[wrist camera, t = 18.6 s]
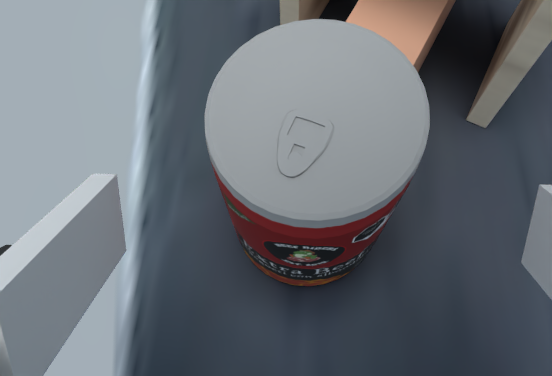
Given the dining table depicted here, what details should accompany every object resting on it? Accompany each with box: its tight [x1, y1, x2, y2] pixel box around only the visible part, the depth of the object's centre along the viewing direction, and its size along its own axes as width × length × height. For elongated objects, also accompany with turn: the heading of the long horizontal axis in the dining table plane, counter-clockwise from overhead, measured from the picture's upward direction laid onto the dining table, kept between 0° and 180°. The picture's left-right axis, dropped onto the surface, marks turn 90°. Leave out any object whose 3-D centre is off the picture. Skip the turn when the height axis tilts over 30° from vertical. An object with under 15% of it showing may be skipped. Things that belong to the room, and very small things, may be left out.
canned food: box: [205, 19, 430, 286], centre depth 21 cm, size 8×8×11 cm
